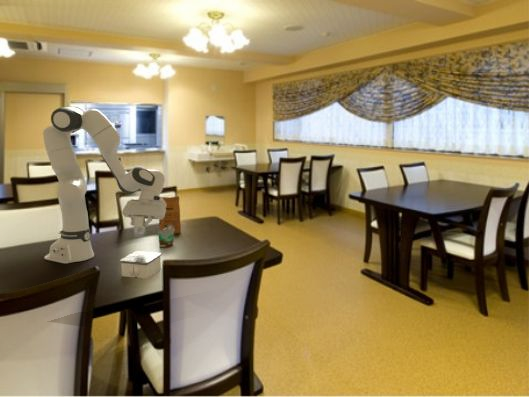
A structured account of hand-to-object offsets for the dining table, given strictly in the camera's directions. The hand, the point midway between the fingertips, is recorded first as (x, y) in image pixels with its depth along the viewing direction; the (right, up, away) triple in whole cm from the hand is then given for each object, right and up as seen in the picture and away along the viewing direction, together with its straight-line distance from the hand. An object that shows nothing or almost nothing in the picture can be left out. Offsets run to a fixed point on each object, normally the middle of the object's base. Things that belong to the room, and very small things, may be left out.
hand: (138, 225), depth 180 cm
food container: (+6, -13, +30) cm, 34 cm away
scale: (+4, -20, -7) cm, 22 cm away
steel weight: (0, -5, +2) cm, 5 cm away
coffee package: (+1, -8, +56) cm, 56 cm away
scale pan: (+4, -14, -9) cm, 17 cm away
